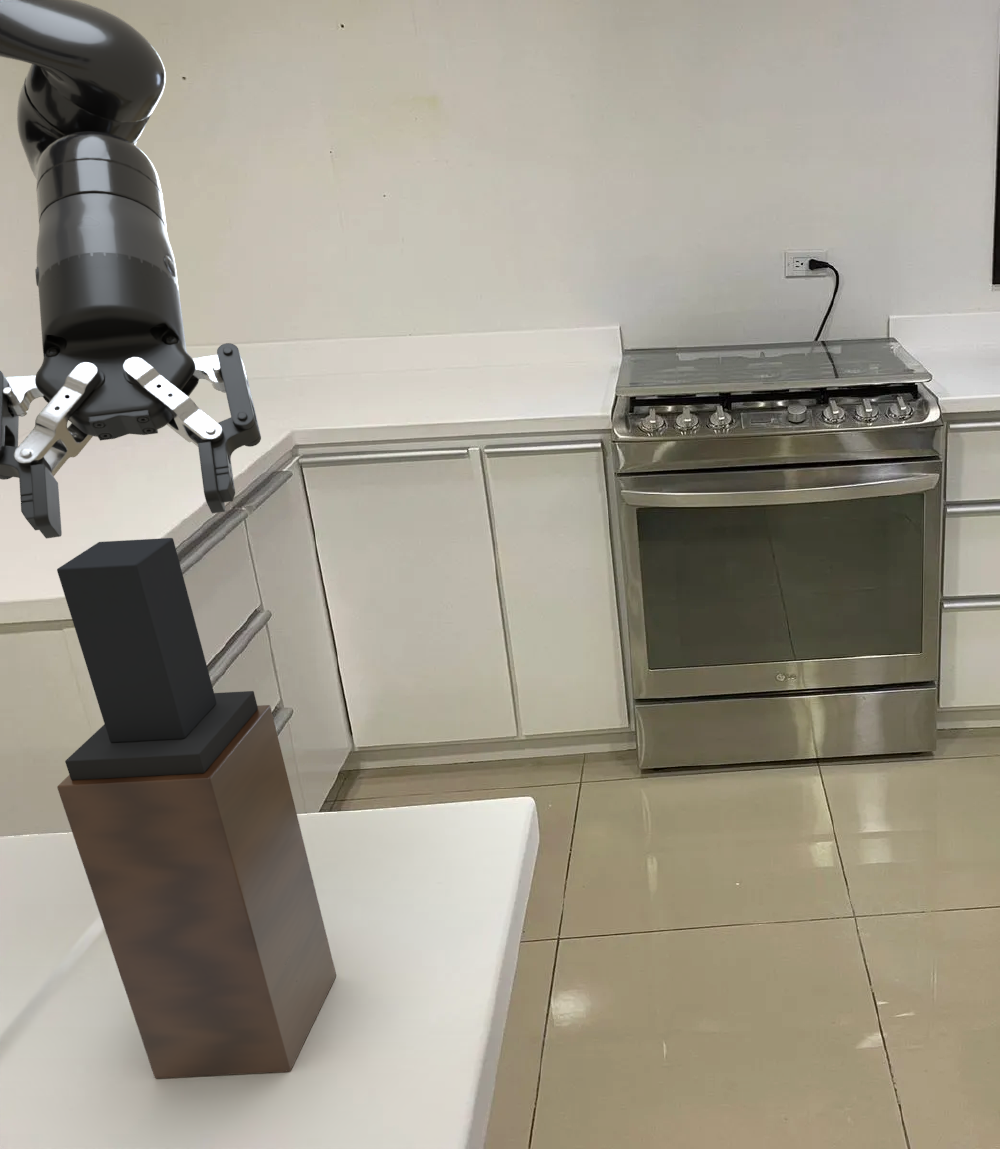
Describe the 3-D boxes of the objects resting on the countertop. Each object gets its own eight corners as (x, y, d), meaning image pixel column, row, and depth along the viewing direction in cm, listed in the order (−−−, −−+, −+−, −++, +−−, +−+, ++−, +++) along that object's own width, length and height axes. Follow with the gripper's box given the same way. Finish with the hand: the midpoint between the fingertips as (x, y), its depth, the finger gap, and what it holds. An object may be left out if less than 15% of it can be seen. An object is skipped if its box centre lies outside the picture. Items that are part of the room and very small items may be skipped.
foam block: (109, 743, 60) (55, 569, 56) (146, 707, 63) (98, 541, 59) (184, 739, 60) (135, 564, 56) (217, 703, 63) (173, 537, 59)
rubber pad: (70, 780, 58) (64, 760, 58) (138, 715, 65) (133, 697, 65) (204, 773, 58) (198, 753, 58) (258, 708, 65) (253, 690, 64)
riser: (154, 1078, 65) (55, 786, 58) (214, 982, 73) (134, 711, 65) (290, 1071, 65) (209, 778, 58) (337, 975, 73) (270, 704, 65)
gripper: (247, 315, 75) (279, 528, 69) (2, 339, 70) (14, 569, 64) (222, 238, 68) (256, 467, 62) (-50, 259, 64) (-41, 508, 58)
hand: (133, 519), depth 63 cm, fingers open, 8 cm apart
